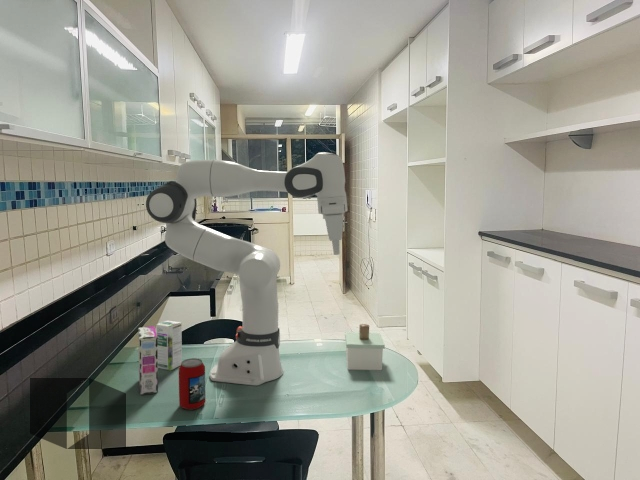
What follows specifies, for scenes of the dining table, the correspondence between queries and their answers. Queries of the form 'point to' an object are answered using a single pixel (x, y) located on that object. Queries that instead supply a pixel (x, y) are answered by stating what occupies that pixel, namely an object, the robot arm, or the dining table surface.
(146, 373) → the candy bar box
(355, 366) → the tub
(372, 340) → the lid
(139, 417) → the dining table surface
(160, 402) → the dining table surface
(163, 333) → the syrup box
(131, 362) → the dining table surface
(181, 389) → the beverage can
